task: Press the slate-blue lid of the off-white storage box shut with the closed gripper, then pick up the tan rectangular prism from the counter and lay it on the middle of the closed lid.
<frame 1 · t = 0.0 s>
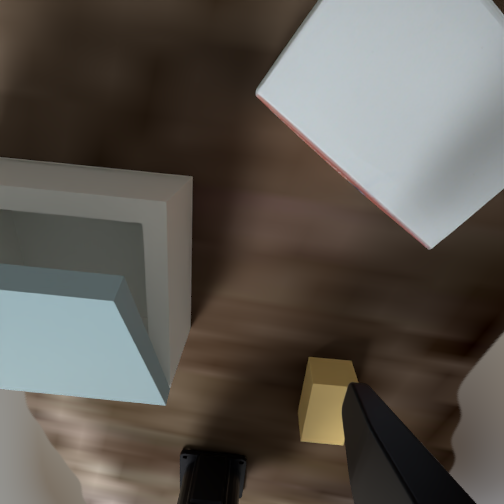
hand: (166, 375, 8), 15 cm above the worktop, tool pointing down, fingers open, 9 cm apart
storage box: (101, 251, 23), on the worktop
tan rectangular prism: (322, 385, 28), on the worktop
small box: (340, 103, 19), on the worktop
lid: (13, 345, 15), point 9 cm above the worktop, hinge at 25.0°
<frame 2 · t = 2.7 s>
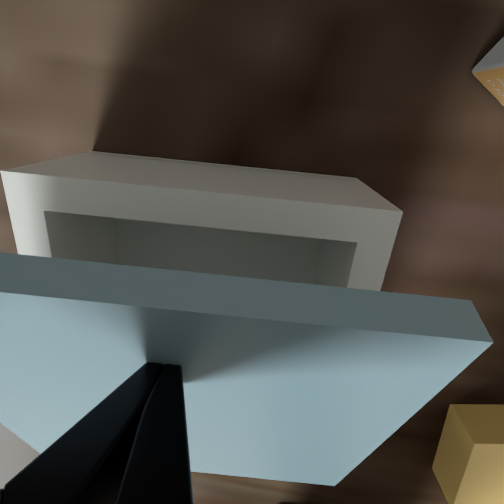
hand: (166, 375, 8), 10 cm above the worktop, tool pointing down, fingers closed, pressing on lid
storage box: (217, 273, 18), on the worktop
tan rectangular prism: (464, 435, 23), on the worktop
lid: (180, 406, 11), point 9 cm above the worktop, hinge at 19.8°, touching gripper
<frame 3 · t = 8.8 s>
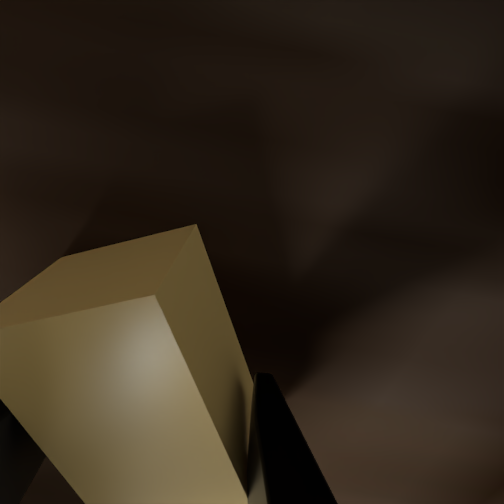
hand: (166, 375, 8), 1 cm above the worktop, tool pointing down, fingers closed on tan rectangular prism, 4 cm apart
tan rectangular prism: (175, 346, 9), on the worktop, touching gripper
when the fingers open (9 cm above the worktop, at t = 12.7 s): tan rectangular prism drops 1 cm, resting on lid.
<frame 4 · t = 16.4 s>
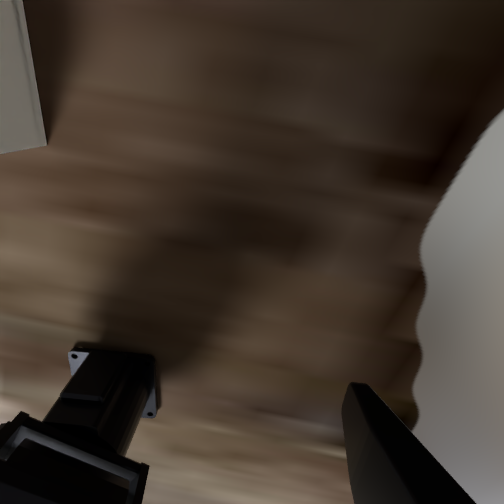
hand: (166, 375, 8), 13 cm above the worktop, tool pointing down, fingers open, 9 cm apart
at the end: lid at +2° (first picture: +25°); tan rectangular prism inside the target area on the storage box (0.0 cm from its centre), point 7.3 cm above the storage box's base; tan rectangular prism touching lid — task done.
